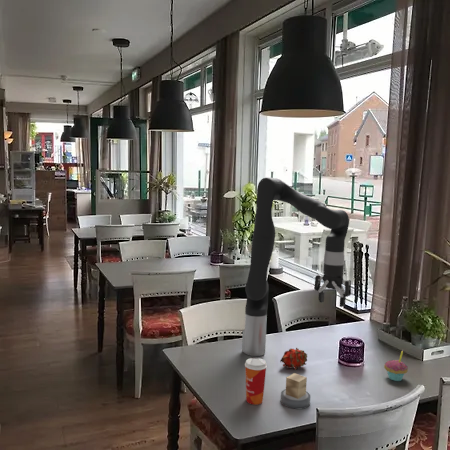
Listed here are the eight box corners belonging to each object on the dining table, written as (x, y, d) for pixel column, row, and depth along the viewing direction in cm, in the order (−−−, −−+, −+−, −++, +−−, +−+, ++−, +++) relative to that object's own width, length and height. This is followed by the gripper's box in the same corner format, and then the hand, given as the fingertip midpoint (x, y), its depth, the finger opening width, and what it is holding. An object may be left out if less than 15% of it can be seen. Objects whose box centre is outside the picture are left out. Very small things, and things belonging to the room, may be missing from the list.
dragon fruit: (309, 370, 199) (282, 377, 195) (301, 352, 204) (274, 359, 201) (313, 359, 193) (285, 366, 189) (305, 341, 198) (277, 347, 195)
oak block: (285, 394, 168) (286, 377, 167) (293, 389, 172) (294, 373, 171) (298, 399, 165) (298, 381, 164) (305, 394, 168) (306, 377, 168)
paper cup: (241, 395, 172) (243, 357, 170) (263, 395, 172) (265, 357, 171) (244, 406, 164) (246, 366, 162) (267, 406, 165) (269, 366, 163)
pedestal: (274, 401, 168) (275, 394, 168) (290, 392, 176) (291, 384, 175) (300, 411, 162) (300, 404, 161) (315, 401, 169) (315, 393, 169)
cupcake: (406, 376, 192) (408, 346, 191) (407, 385, 184) (409, 354, 183) (383, 372, 195) (385, 343, 194) (383, 381, 187) (385, 350, 186)
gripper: (355, 264, 185) (353, 306, 187) (322, 258, 194) (319, 298, 196) (346, 266, 179) (343, 310, 181) (312, 261, 188) (310, 302, 190)
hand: (331, 304), depth 188 cm, fingers open, 8 cm apart
